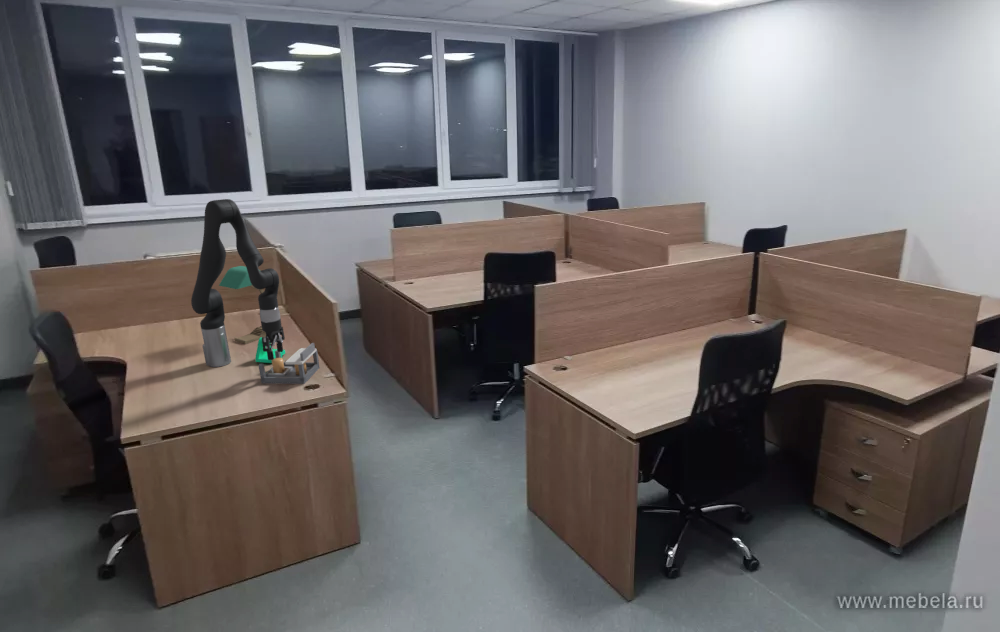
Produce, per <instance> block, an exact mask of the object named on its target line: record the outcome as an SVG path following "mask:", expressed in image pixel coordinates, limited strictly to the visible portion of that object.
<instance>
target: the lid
mask: <svg viewBox="0 0 1000 632" xmlns="http://www.w3.org/2000/svg"><path fill="white" fill-rule="evenodd" d="M316 351H317V352H318V350H317V348H316V347H315V342H311V343H310V344H309V345H308V346H306V347H300V348H299V349H298V350H297V351H295V352H294V353H293V354H292V355H291V356H290V357H289V358H288V359H286V361H284V362H285V364H298V365H302V364H303V363H304V362H307V361H308V359H309V358H311V357H313V354H314V353H315V352H316Z"/></svg>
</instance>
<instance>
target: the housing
mask: <svg viewBox="0 0 1000 632" xmlns="http://www.w3.org/2000/svg"><path fill="white" fill-rule="evenodd" d="M318 352H319V351H318V350H317V351H316V352H315V353H314V354H313V355H312V358H313V359H312V360H313V362H307V361H305V362H304V363H303V364H302V365H298V364H285V362H286V361H283V362H284V369H285V372H284V373H274V372H273V366H271V368H270V369H269V370H268V371H266V370H265V368H266V367H265V363H259V364H258V370H259V371H258V372H259V376H260V383H261V384H274V385H275V384H277V385H279V384H283V385H285V384H287V385H288V384H289V385H291V384H293V385H295V384H298V385H305V384H306V383H307V382H308V381H309V380H310V379H311V378H312V376H313V375H315V374H316V372H317V371H318V370H319V369H320V360H319V354H318ZM275 356H276V358H281V355H280V352H278V351H277V350H276V351H275Z"/></svg>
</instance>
